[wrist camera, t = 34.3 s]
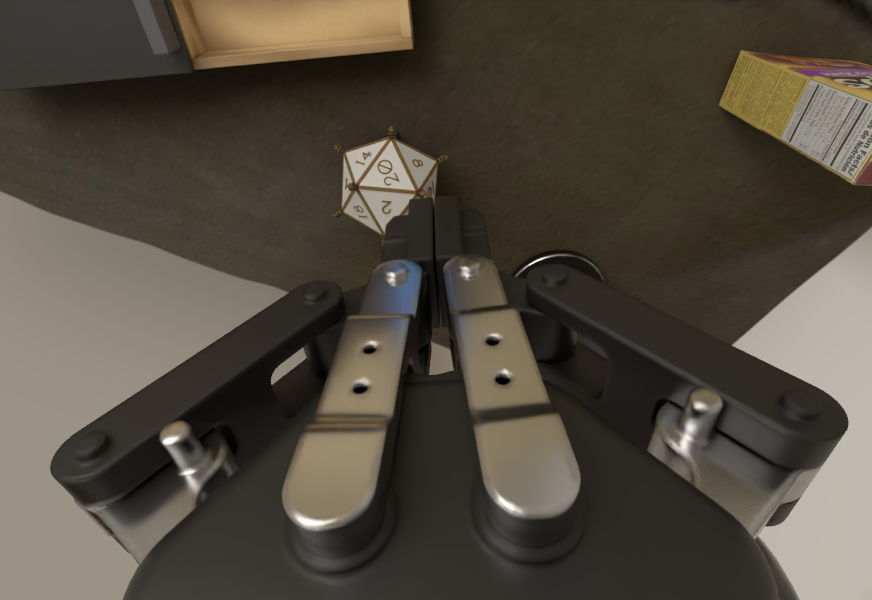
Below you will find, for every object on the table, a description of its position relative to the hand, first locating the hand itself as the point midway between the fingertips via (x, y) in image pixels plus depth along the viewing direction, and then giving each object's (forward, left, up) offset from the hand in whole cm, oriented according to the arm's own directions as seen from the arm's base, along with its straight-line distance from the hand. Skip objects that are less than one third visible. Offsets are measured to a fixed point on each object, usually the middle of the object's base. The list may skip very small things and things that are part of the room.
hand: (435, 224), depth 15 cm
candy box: (-4, -26, -25) cm, 36 cm away
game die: (-8, +4, -25) cm, 27 cm away
